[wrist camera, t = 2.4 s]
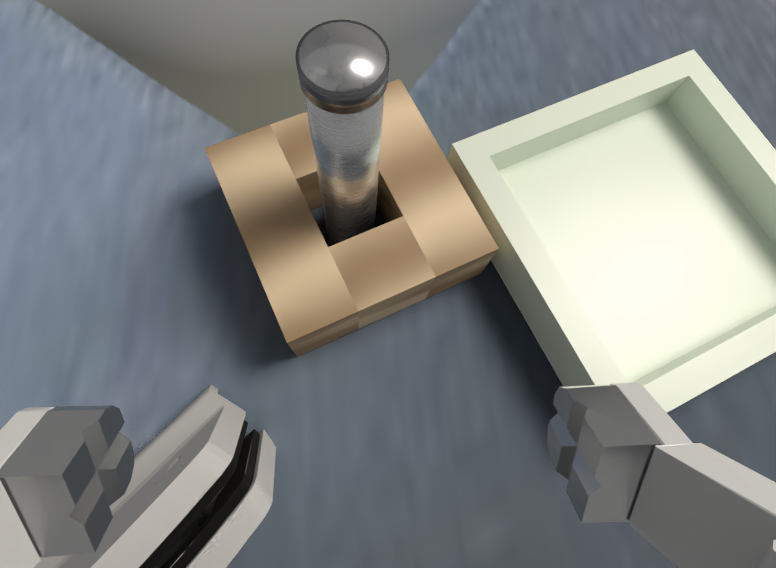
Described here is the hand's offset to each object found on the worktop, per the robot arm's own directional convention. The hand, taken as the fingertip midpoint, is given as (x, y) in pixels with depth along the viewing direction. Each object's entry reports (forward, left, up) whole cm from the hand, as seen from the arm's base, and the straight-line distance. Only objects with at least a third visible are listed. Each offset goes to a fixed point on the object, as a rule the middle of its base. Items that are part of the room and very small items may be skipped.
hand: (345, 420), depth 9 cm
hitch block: (-11, +5, -18) cm, 21 cm away
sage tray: (-3, +21, -18) cm, 27 cm away
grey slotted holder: (+1, -12, -18) cm, 22 cm away
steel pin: (-11, +5, -18) cm, 21 cm away
